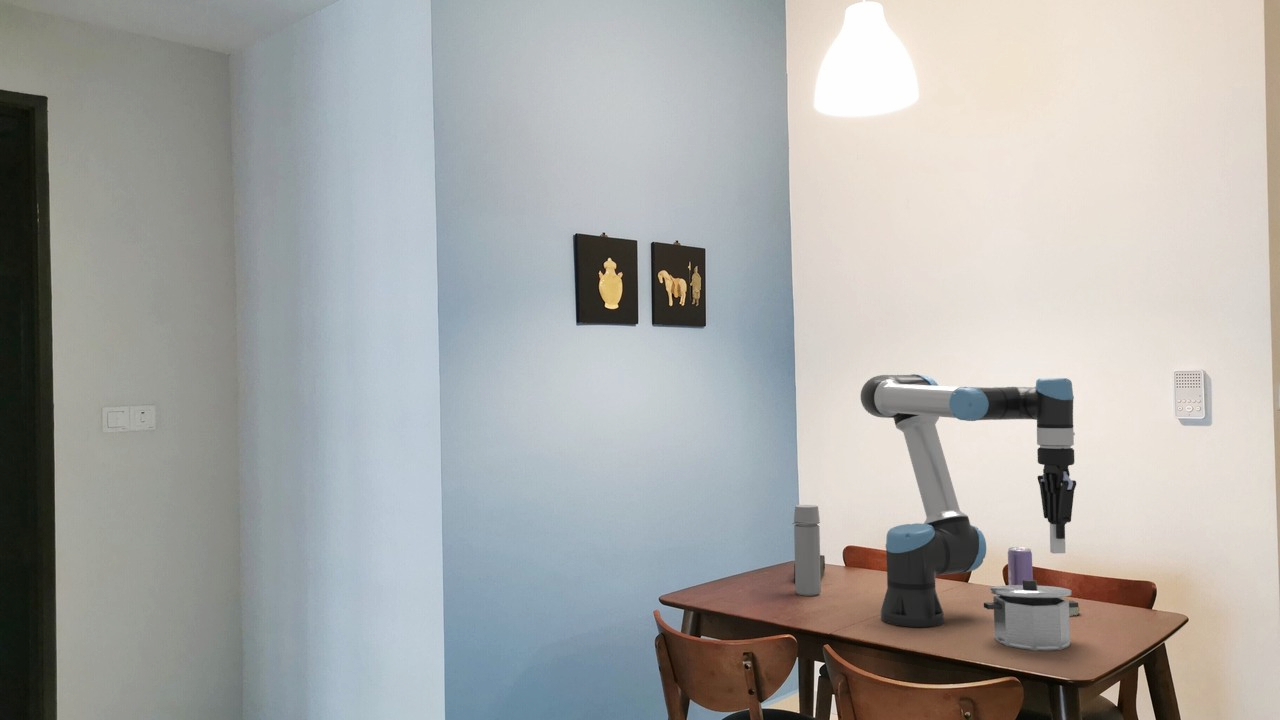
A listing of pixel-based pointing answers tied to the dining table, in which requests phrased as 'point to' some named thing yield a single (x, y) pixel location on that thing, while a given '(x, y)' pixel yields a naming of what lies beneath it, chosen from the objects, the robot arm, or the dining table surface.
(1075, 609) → the grey block
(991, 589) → the lid
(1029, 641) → the pot
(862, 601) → the dining table surface
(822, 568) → the beverage carton
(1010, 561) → the beverage can
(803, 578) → the water bottle
